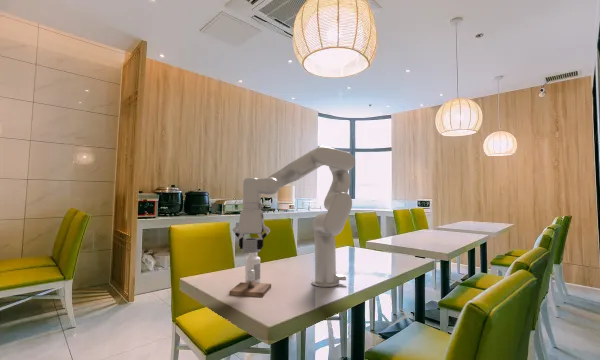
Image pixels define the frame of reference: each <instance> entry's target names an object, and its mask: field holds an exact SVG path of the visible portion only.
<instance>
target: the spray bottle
mask: <svg viewBox="0 0 600 360" xmlns="http://www.w3.org/2000/svg"><path fill="white" fill-rule="evenodd" d="M244 264H245V266H244V267H245V275H244V278H245V282H244V283H248V270H249V269H254V270H255V283H261V257H260V256H259V255H258V252H255V253H248V256H247V257H246V258H245V263H244Z"/></svg>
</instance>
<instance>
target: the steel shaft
mask: <svg viewBox="0 0 600 360" xmlns="http://www.w3.org/2000/svg"><path fill="white" fill-rule="evenodd" d="M254 287H255V270H254V269H249V270H248V288H254Z"/></svg>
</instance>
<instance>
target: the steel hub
mask: <svg viewBox="0 0 600 360" xmlns="http://www.w3.org/2000/svg"><path fill="white" fill-rule="evenodd" d="M259 240H260V238H259V237H246V238H244V239H242V249H241V252H242V253H245V254H246V253H247V254H249V253H255V252H257V253H259V252H261V249H260V250H259V249H258V244H259Z"/></svg>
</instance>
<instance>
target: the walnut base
mask: <svg viewBox="0 0 600 360" xmlns="http://www.w3.org/2000/svg"><path fill="white" fill-rule="evenodd" d="M271 288H272V283H265V282H264V283H261V282H260V283H255V287H254V288H248V283H245V282H243V281H242V282H239V283H238V284H237V285H235V286H234V287H233V288H232V289H230V290H229V294H228V295H229V296H244V297H245V296H246V297H264V296H265V295H266V294H267V293H268V292H269V290H270V289H271Z"/></svg>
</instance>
